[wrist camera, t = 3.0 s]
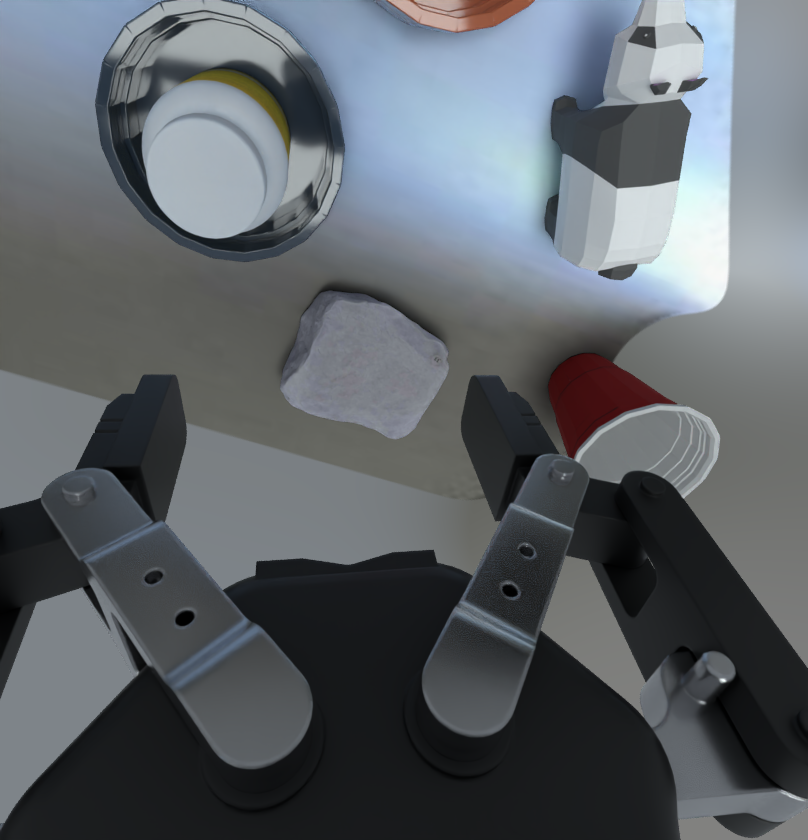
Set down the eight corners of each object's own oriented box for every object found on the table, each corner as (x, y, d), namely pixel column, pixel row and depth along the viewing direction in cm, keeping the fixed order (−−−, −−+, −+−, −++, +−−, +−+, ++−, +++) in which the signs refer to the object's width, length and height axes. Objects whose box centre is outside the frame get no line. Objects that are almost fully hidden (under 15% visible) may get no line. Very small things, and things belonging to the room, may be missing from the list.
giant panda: (608, 238, 38) (682, 290, 31) (536, 248, 38) (594, 304, 30) (650, -20, 29) (771, -35, 22) (556, -10, 29) (646, -22, 21)
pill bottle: (202, 37, 27) (153, 45, 18) (311, 115, 30) (315, 155, 21) (158, 151, 30) (97, 206, 21) (262, 212, 33) (247, 284, 24)
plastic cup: (553, 312, 41) (626, 397, 32) (658, 339, 45) (753, 423, 35) (498, 417, 47) (546, 515, 38) (595, 435, 51) (661, 528, 41)
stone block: (317, 267, 38) (271, 385, 41) (326, 281, 34) (275, 412, 37) (450, 322, 43) (400, 424, 46) (473, 341, 39) (416, 451, 42)
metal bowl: (135, 222, 33) (115, 247, 29) (105, -28, 25) (74, -36, 22) (328, 247, 35) (331, 272, 32) (350, 29, 28) (357, 30, 25)
